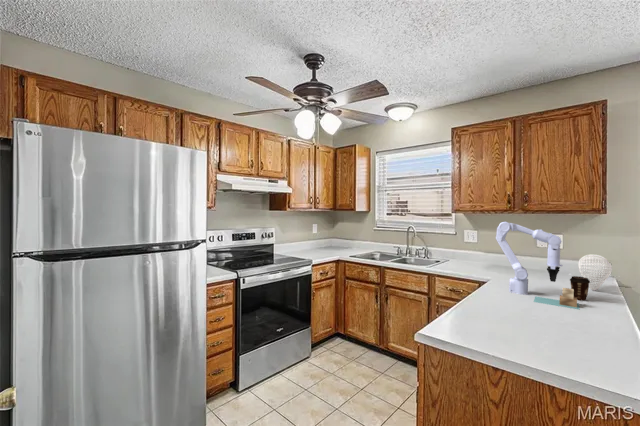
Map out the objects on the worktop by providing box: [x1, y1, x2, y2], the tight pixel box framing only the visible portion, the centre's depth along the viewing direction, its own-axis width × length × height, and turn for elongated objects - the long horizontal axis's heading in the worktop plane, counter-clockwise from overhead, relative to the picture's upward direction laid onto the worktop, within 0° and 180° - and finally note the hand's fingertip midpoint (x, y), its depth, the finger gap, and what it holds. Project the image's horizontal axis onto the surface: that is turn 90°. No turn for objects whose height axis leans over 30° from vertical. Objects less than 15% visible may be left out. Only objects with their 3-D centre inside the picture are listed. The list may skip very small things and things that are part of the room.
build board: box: [533, 296, 580, 310], centre depth 166 cm, size 19×14×1 cm
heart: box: [578, 253, 613, 291], centre depth 198 cm, size 28×16×22 cm, turn 140°
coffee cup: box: [569, 275, 591, 302], centre depth 174 cm, size 9×8×13 cm
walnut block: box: [559, 295, 578, 307], centre depth 163 cm, size 7×7×4 cm
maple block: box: [562, 287, 574, 299], centre depth 163 cm, size 4×4×4 cm
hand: (553, 280), depth 176 cm, fingers open, 7 cm apart
